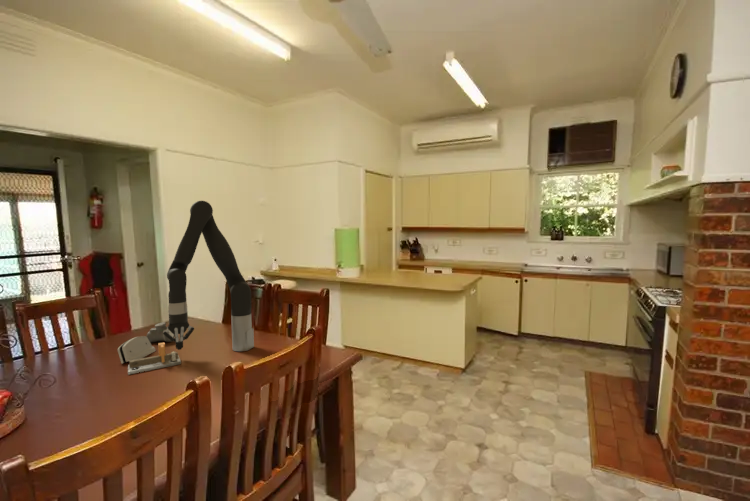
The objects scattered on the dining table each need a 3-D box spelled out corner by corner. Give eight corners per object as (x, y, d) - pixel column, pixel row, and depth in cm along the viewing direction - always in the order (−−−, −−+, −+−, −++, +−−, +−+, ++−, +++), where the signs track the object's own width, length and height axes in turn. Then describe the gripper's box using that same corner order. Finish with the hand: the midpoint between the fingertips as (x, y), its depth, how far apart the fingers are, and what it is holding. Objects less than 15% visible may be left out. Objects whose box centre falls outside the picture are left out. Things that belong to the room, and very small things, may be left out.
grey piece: (178, 357, 159) (178, 346, 159) (181, 364, 152) (180, 352, 152) (128, 367, 149) (127, 355, 148) (128, 374, 141) (127, 362, 141)
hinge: (132, 363, 153) (123, 342, 152) (122, 367, 153) (113, 346, 153) (156, 350, 170) (148, 331, 169) (147, 353, 170) (140, 334, 169)
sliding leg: (165, 357, 156) (164, 342, 156) (166, 361, 150) (165, 346, 150) (159, 358, 155) (158, 343, 154) (160, 363, 149) (159, 347, 149)
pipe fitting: (177, 337, 188) (173, 319, 186) (169, 343, 180) (165, 325, 178) (154, 340, 187) (150, 322, 185) (146, 347, 179) (141, 328, 177)
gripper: (161, 315, 150) (163, 354, 151) (195, 311, 157) (196, 348, 158) (160, 312, 156) (162, 349, 157) (193, 308, 163) (194, 344, 165)
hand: (179, 349), depth 158 cm, fingers closed
